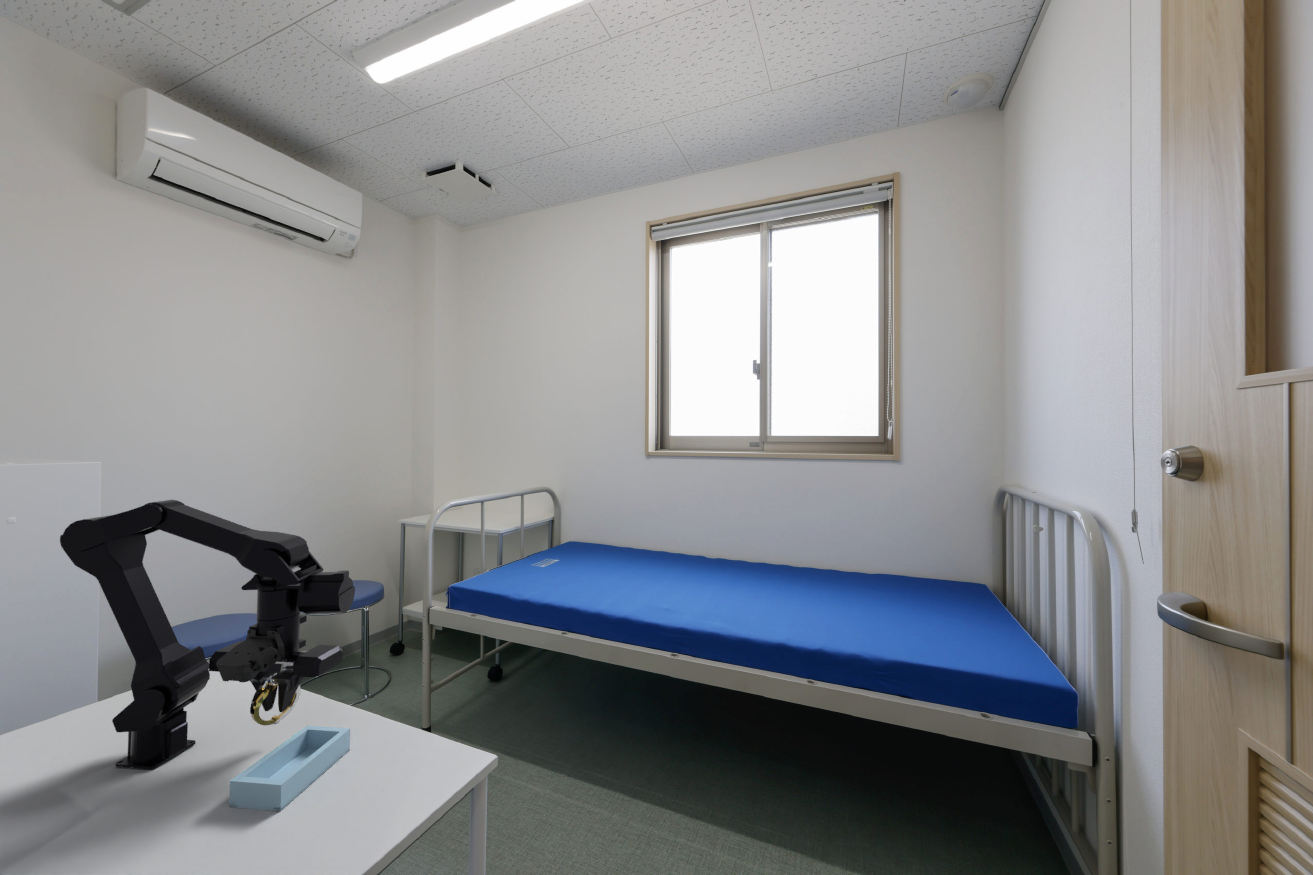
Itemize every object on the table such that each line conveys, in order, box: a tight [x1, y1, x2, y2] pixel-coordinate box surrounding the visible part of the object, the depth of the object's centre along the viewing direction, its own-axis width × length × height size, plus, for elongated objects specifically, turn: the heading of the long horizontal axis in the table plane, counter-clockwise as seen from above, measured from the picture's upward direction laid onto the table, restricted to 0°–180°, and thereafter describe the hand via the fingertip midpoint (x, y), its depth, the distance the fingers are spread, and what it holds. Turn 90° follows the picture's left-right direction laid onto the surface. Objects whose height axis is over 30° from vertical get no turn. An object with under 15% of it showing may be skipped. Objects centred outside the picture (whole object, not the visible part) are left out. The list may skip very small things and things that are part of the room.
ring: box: [249, 673, 301, 726], centre depth 78 cm, size 7×3×8 cm, turn 156°
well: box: [228, 725, 351, 812], centre depth 71 cm, size 8×13×4 cm, turn 175°
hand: (275, 710), depth 78 cm, fingers closed on ring, 2 cm apart
